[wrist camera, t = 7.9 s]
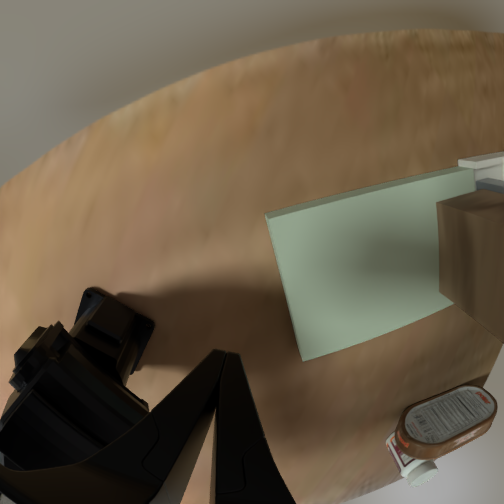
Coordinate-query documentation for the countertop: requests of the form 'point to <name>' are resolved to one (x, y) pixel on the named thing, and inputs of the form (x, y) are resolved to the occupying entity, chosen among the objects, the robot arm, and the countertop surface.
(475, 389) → the tin
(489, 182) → the slate tile
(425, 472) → the pill bottle
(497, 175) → the cream tray
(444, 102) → the countertop surface
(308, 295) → the sage board
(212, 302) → the countertop surface
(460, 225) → the walnut push block
